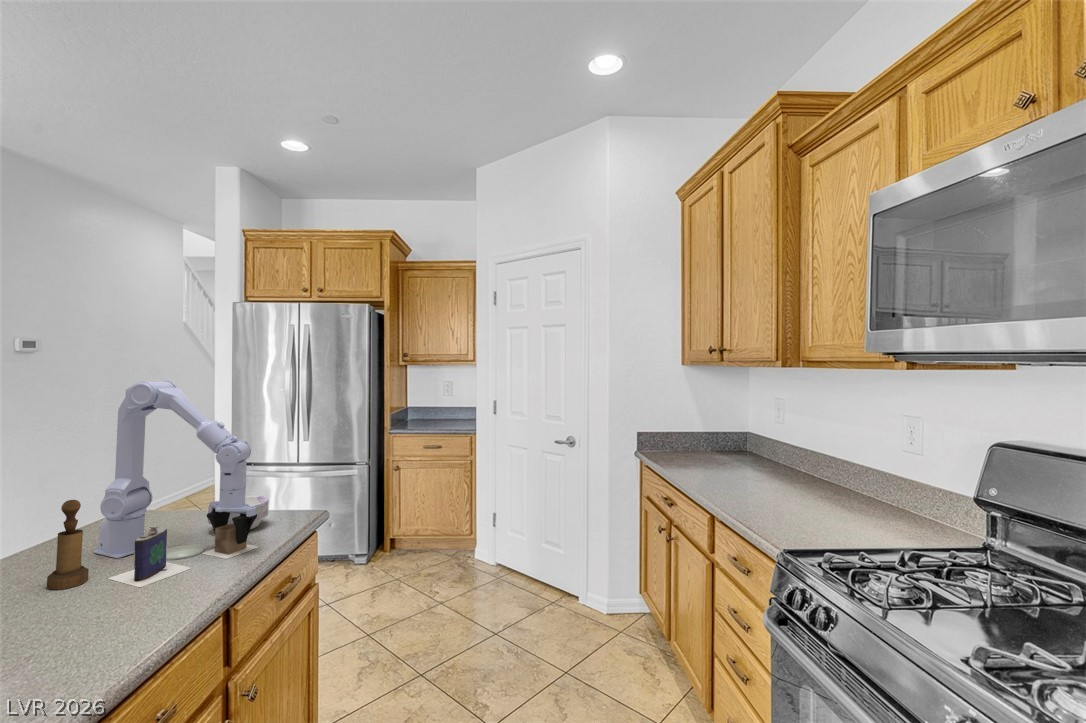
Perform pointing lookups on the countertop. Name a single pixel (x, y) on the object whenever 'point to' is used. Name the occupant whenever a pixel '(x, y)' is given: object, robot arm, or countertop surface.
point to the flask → (150, 553)
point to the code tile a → (164, 573)
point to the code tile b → (225, 556)
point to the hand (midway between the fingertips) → (231, 540)
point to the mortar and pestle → (69, 552)
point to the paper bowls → (254, 501)
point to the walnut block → (227, 540)
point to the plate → (184, 551)
